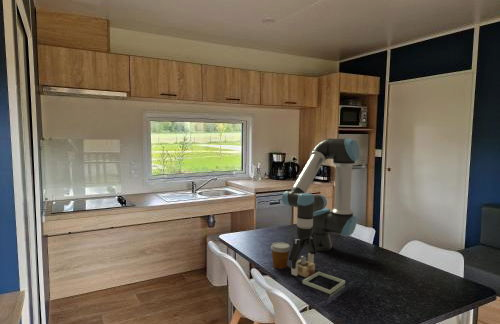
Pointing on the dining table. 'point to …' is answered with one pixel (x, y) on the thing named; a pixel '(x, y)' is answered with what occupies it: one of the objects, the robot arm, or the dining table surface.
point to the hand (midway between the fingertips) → (302, 270)
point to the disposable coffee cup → (280, 254)
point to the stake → (303, 260)
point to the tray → (323, 287)
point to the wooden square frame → (305, 269)
